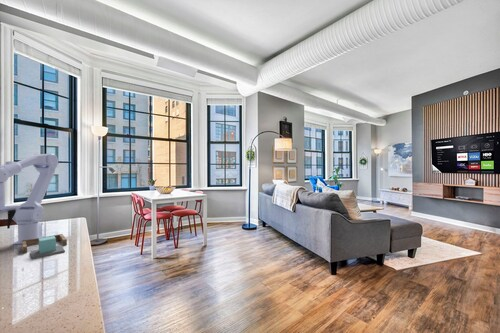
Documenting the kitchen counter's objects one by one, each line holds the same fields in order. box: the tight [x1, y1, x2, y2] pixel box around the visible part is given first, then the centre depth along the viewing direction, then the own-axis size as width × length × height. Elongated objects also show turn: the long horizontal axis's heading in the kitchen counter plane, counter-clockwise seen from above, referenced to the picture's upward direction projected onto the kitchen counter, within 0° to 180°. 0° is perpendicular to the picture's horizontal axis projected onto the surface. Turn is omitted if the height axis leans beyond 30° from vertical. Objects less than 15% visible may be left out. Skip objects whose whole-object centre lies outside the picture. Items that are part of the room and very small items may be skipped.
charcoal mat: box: [30, 244, 66, 260], centre depth 99 cm, size 10×10×1 cm
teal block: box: [38, 235, 57, 253], centre depth 99 cm, size 5×5×5 cm
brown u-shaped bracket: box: [21, 233, 68, 254], centre depth 108 cm, size 13×14×2 cm
